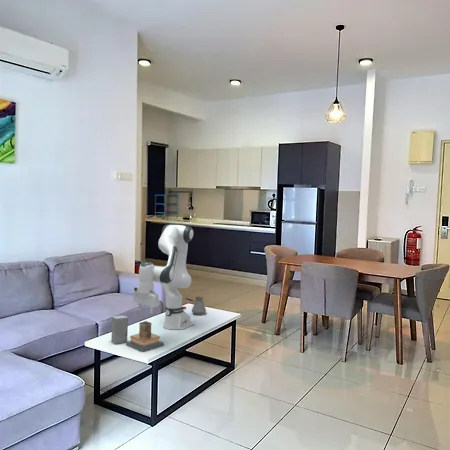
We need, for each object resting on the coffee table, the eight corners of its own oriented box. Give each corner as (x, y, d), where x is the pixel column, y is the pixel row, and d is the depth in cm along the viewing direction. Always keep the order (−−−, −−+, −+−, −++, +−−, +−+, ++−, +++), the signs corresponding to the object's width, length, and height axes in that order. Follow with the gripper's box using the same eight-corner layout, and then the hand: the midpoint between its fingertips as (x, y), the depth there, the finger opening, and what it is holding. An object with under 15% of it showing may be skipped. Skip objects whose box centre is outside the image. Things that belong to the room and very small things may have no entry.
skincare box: (115, 344, 252) (115, 319, 251) (110, 341, 258) (111, 316, 257) (128, 342, 257) (128, 317, 256) (123, 339, 263) (124, 314, 262)
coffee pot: (198, 311, 335) (198, 292, 334) (209, 313, 328) (209, 295, 327) (179, 316, 319) (179, 296, 318) (190, 319, 311) (190, 299, 310)
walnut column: (145, 333, 256) (146, 321, 255) (151, 335, 252) (151, 322, 252) (139, 335, 252) (139, 322, 251) (144, 337, 248) (144, 324, 248)
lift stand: (147, 339, 264) (147, 329, 263) (163, 345, 253) (164, 335, 253) (126, 345, 252) (126, 335, 251) (142, 352, 241) (143, 342, 241)
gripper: (161, 291, 246) (161, 314, 247) (139, 285, 259) (139, 307, 260) (153, 293, 241) (153, 316, 242) (131, 287, 255) (131, 309, 256)
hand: (145, 311), depth 252 cm, fingers open, 8 cm apart
